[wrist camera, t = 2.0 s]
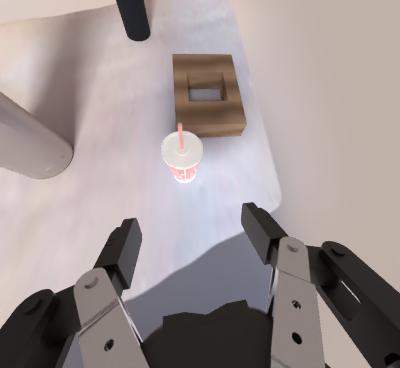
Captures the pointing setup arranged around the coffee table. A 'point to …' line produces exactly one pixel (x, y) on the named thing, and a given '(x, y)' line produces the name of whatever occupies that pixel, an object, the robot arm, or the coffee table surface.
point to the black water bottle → (134, 19)
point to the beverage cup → (182, 154)
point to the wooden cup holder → (207, 110)
